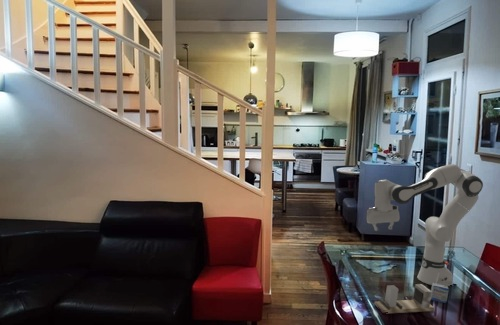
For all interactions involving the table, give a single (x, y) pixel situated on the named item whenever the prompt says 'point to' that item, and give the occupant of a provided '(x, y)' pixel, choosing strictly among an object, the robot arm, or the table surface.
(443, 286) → the medicine box
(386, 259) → the table surface
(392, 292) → the white tall block
